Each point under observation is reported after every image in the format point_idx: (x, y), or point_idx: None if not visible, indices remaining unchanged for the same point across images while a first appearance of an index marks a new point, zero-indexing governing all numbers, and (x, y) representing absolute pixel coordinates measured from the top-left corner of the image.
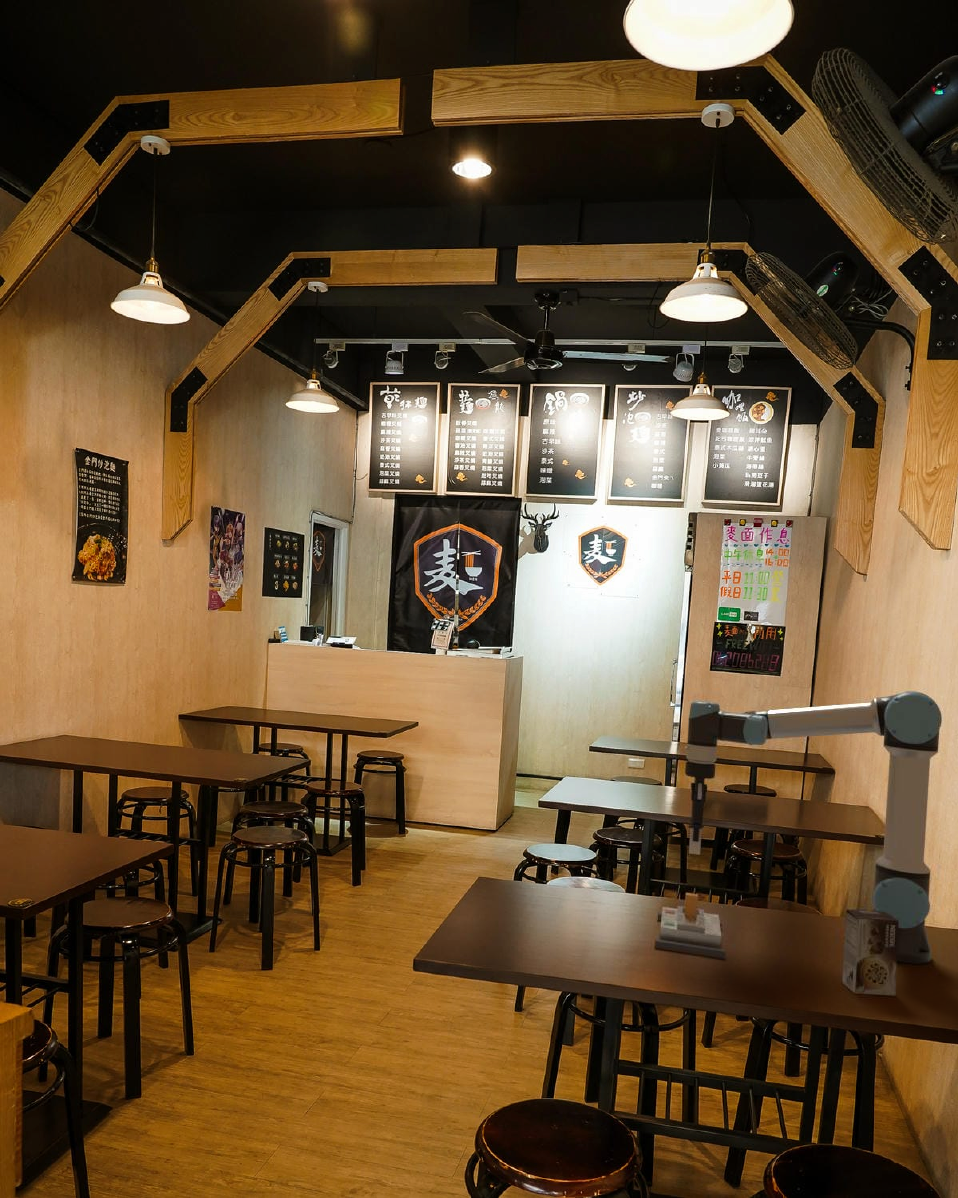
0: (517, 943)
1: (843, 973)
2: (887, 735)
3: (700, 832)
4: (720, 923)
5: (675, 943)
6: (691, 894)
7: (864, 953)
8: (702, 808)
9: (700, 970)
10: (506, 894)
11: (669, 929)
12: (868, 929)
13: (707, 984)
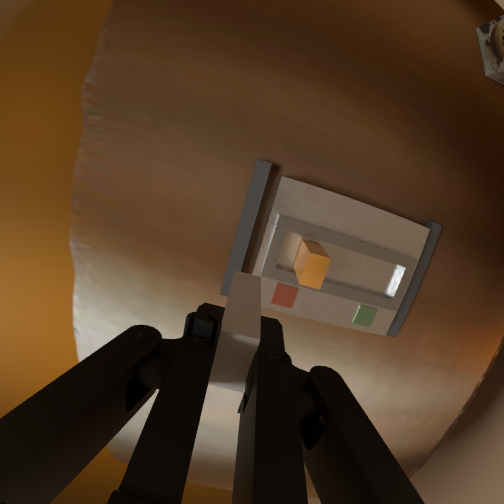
0: None
1: (495, 74)
2: None
3: (259, 333)
4: (270, 165)
5: (408, 306)
6: (313, 272)
7: None
8: (406, 488)
9: (469, 281)
10: None
11: (391, 320)
12: None
13: (501, 285)
